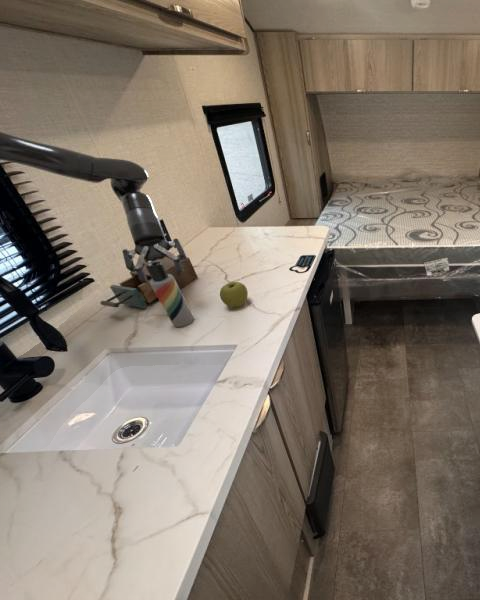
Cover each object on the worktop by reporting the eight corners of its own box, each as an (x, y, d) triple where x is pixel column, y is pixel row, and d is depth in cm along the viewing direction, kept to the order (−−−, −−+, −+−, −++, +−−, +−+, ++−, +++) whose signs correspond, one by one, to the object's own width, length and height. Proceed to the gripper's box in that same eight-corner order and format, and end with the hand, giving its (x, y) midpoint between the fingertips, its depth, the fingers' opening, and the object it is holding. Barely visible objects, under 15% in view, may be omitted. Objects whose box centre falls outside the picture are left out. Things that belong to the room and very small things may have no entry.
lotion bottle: (170, 322, 98) (138, 264, 87) (190, 313, 102) (161, 256, 90) (177, 330, 95) (143, 270, 84) (197, 321, 98) (167, 262, 87)
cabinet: (167, 298, 110) (155, 276, 105) (142, 293, 113) (129, 272, 109) (198, 278, 121) (188, 257, 116) (174, 274, 124) (164, 254, 119)
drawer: (127, 318, 99) (115, 300, 96) (103, 314, 102) (90, 296, 98) (176, 288, 114) (167, 271, 110) (154, 284, 117) (145, 268, 113)
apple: (255, 301, 106) (249, 283, 102) (233, 314, 101) (225, 295, 97) (242, 295, 110) (235, 276, 106) (220, 306, 104) (212, 287, 100)
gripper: (110, 227, 88) (127, 281, 87) (169, 216, 94) (187, 266, 92) (122, 239, 95) (139, 289, 93) (177, 228, 101) (194, 274, 99)
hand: (163, 277), depth 93 cm, fingers open, 8 cm apart
